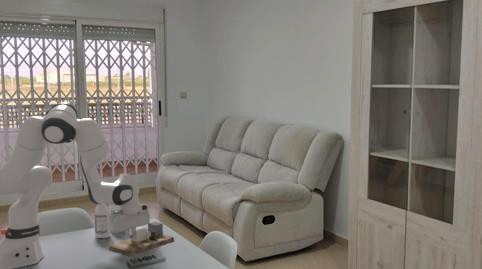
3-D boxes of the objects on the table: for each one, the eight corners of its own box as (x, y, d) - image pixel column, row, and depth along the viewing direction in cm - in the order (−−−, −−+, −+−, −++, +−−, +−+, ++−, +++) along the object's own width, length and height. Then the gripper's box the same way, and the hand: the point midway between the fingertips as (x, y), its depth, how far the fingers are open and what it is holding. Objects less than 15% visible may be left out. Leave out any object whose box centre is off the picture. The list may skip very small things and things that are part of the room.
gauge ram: (140, 243, 209) (140, 232, 208) (130, 240, 213) (130, 229, 213) (154, 238, 215) (154, 228, 214) (144, 236, 220) (143, 225, 219)
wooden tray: (128, 255, 198) (128, 251, 197) (109, 249, 206) (109, 245, 206) (173, 240, 218) (173, 236, 218) (154, 234, 226) (154, 231, 226)
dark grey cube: (156, 236, 218) (156, 225, 218) (148, 234, 222) (147, 223, 222) (162, 234, 222) (162, 223, 221) (154, 232, 225) (154, 221, 225)
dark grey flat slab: (156, 241, 211) (156, 233, 211) (149, 239, 214) (148, 231, 214) (158, 240, 212) (158, 232, 212) (151, 238, 215) (150, 230, 215)
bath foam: (101, 234, 229) (99, 194, 227) (113, 235, 227) (111, 195, 225) (92, 238, 222) (90, 197, 221) (104, 239, 220) (102, 198, 218)
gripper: (114, 213, 199) (115, 245, 200) (151, 204, 215) (152, 234, 216) (105, 211, 203) (106, 242, 204) (142, 203, 219) (143, 231, 220)
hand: (130, 238), depth 210 cm, fingers closed
